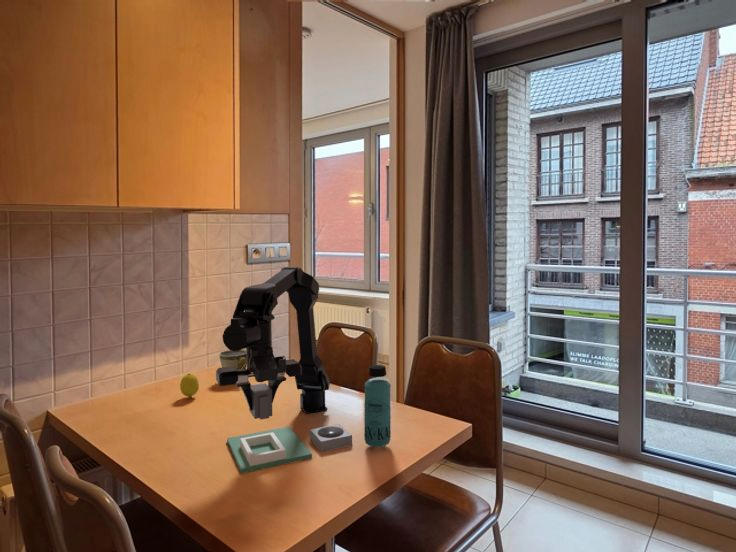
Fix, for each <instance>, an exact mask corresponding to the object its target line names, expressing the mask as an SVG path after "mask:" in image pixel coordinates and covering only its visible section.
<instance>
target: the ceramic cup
mask: <svg viewBox="0 0 736 552" xmlns="http://www.w3.org/2000/svg"><path fill="white" fill-rule="evenodd" d="M218 355H219V360H220V364H221V368H222V367H231V366H234V367H235V369H236V370H242V369H247V365H246V362H247V355H246V349H242V350H240V351H232V350H230V349H227V350H223V351H221V352H219V354H218Z"/></svg>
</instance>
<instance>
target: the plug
mask: <svg viewBox="0 0 736 552" xmlns="http://www.w3.org/2000/svg"><path fill="white" fill-rule="evenodd" d="M250 389H251V397H252V410H250V408H249V407H248V409H249V413H250V414H251V415H252V417H253V419H255V420H257V419H259V420H261V421H262V420H266V419H270V417H273V403H272V390H271V389H270V388H269V387H268V383H264V382H263V383H259V384H251V388H250Z"/></svg>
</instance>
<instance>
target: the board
mask: <svg viewBox="0 0 736 552" xmlns="http://www.w3.org/2000/svg"><path fill="white" fill-rule="evenodd" d="M226 441H227V445H228V444H229V445H228V447H229V446H230V447H229V450H230V451H231V453H233V454H232V456H233V458H234V461H235V463H236V462H237V463H236V464H237V465H236V466H237V467H238V469H239V471H240V474H241V473H242V474H246V472H247V473H250V472H256V471H260V470H264V469H268V468H273V467H279V466H282V465H283V466H284V465H287V464H292V463H296V462H300V461H305V460H311V459H313V453H312V452H311V451H310V449H309V448H308V447H307V445H305V443H304V442H303V441H302V440H301V438H300V437H299V436H298V435H297V434H296V432H295V431H294V430H293V429H292V428H291V426H283V427H280V428H274V429H269V430H268V429H267V430H263V431H257V432H253V433H247V434H241V435H236V436H231V437H226Z"/></svg>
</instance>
